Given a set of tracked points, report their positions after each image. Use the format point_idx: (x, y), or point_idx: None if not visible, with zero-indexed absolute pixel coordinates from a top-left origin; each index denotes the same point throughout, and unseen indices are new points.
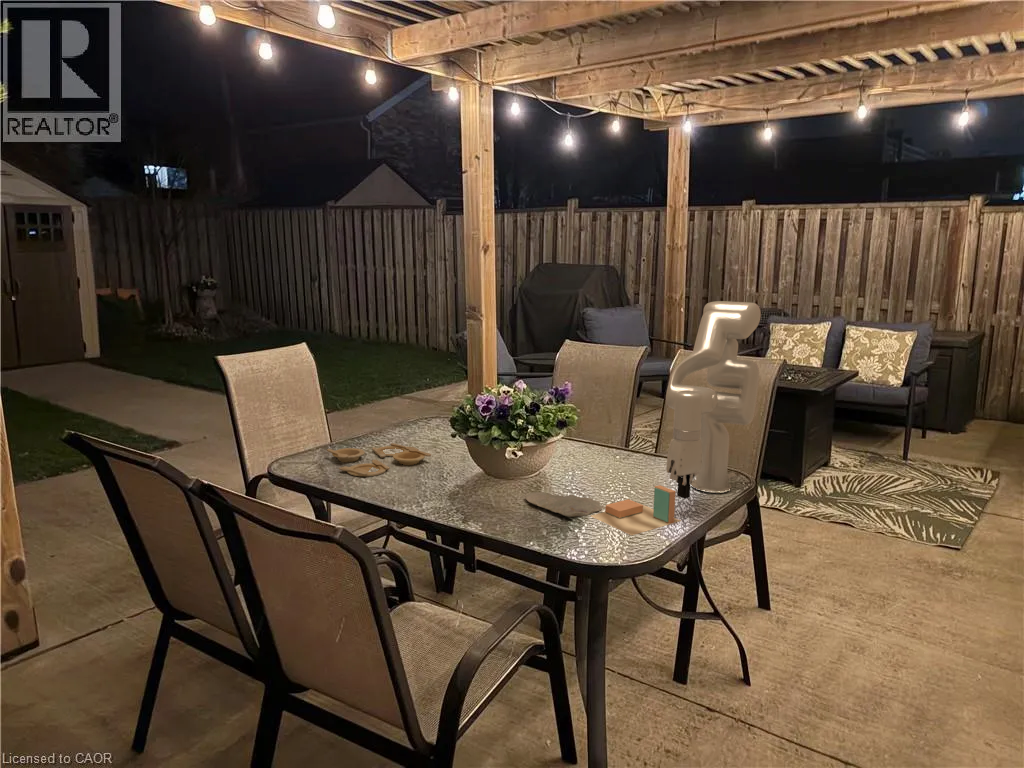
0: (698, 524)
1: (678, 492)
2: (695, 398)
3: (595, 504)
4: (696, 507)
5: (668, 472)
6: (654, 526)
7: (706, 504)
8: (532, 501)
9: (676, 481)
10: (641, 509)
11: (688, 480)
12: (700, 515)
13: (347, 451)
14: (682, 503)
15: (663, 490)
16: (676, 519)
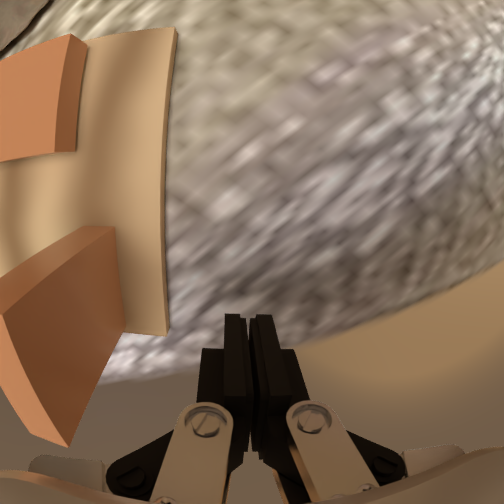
0: None
1: (201, 358)
2: None
3: (5, 13)
4: (402, 230)
5: (18, 477)
6: None
7: (450, 234)
8: None
9: (177, 422)
10: (59, 152)
11: (278, 478)
12: (329, 307)
13: None
14: (401, 152)
15: (4, 386)
16: (155, 315)
